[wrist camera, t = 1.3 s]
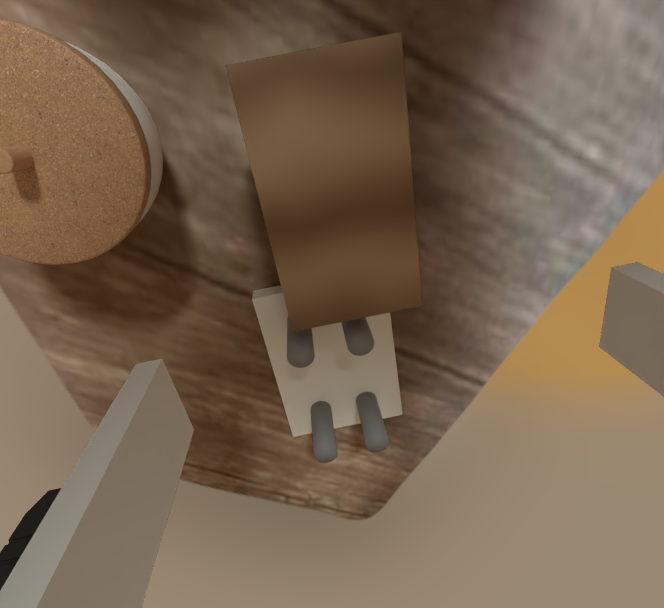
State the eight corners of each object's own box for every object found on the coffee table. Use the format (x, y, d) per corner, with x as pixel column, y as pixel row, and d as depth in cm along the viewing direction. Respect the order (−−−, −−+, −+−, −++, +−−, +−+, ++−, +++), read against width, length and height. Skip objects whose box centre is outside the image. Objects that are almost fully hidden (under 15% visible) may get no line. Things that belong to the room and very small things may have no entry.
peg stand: (253, 290, 31) (245, 333, 25) (380, 264, 31) (402, 301, 25) (293, 425, 37) (293, 484, 31) (398, 403, 37) (419, 458, 31)
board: (232, 70, 20) (225, 65, 18) (389, 40, 20) (401, 31, 18) (292, 312, 26) (292, 331, 24) (411, 289, 26) (422, 305, 24)
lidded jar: (38, -4, 22) (-117, -73, 14) (214, 123, 25) (177, 132, 17) (-25, 162, 25) (-182, 190, 17) (138, 255, 29) (77, 316, 20)
